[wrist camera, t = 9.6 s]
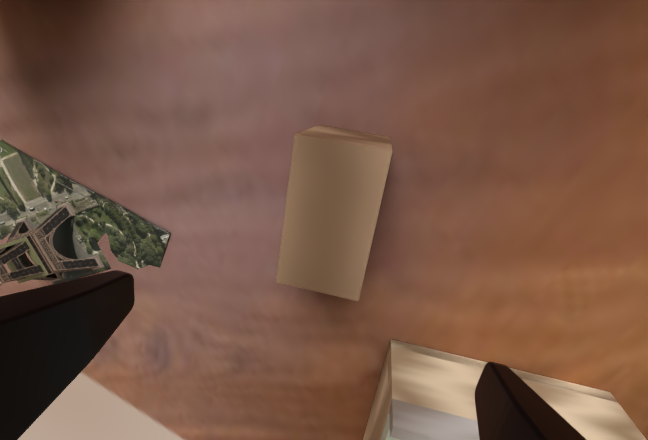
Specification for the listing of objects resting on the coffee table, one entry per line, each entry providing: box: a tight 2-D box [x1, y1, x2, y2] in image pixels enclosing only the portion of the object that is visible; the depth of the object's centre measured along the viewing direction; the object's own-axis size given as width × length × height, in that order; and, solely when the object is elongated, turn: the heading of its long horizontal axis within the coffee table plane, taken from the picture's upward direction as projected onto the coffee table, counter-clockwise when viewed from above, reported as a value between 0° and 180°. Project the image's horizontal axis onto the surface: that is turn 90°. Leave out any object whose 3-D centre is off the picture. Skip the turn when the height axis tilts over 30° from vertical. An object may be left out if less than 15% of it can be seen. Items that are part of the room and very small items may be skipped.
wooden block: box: [276, 125, 392, 301], centre depth 18 cm, size 4×7×6 cm, turn 171°
